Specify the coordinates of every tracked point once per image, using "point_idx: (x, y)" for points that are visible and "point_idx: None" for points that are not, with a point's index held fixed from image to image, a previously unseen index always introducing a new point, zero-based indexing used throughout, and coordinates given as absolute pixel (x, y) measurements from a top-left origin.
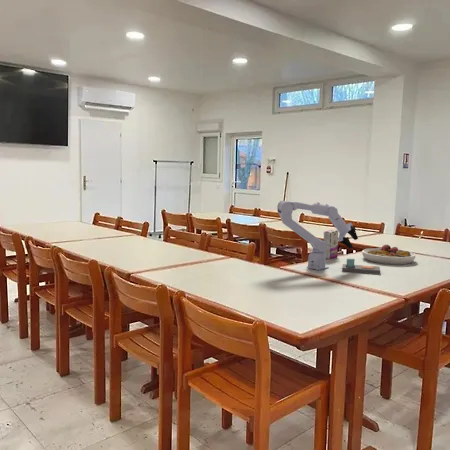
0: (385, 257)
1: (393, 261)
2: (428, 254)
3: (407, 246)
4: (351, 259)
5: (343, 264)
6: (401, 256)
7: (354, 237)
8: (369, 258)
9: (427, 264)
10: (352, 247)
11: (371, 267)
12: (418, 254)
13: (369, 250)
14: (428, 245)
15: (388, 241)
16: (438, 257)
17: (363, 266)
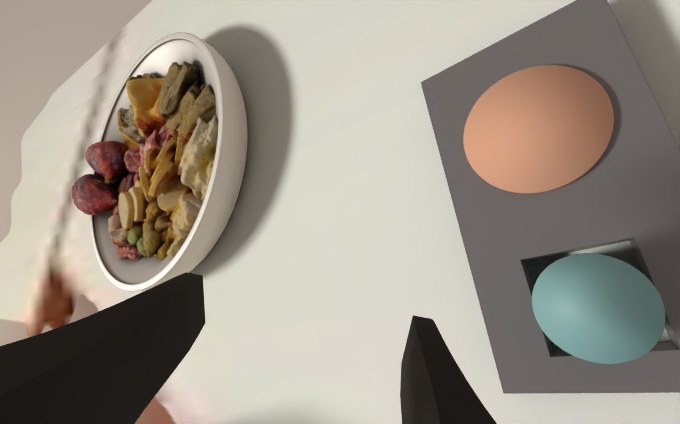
0: (227, 126)
1: (240, 96)
2: (92, 96)
3: (38, 190)
4: (617, 291)
5: (522, 384)
6: (188, 73)
7: (175, 334)
8: (218, 231)
9: (199, 11)
10: (431, 319)
11: (526, 97)
12: (96, 119)
13: (117, 263)
14: (30, 148)
15: (8, 257)
16: (114, 53)
17: (525, 172)
